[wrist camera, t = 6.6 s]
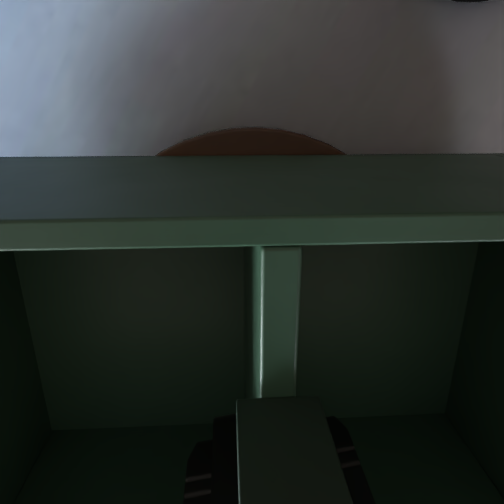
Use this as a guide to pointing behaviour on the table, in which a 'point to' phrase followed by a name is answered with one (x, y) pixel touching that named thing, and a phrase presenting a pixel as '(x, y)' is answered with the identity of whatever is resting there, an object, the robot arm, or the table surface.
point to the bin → (252, 325)
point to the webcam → (469, 0)
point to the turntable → (250, 143)
